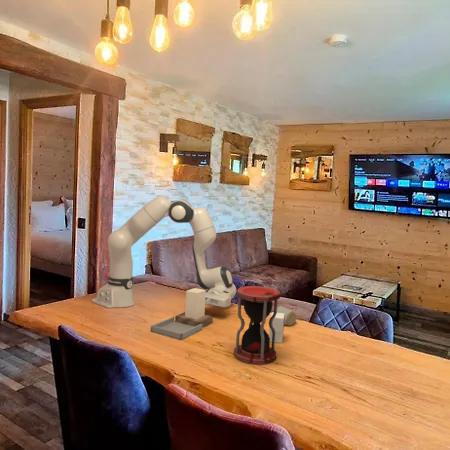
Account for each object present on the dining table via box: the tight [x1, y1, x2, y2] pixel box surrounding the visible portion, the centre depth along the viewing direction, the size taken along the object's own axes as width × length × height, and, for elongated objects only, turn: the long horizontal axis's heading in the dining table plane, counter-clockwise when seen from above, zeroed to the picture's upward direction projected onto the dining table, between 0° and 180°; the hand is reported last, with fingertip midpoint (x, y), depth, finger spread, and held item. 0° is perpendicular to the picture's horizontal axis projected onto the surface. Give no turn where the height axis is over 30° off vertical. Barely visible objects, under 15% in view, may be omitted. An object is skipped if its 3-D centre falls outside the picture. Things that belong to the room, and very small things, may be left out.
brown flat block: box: [174, 311, 214, 329], centre depth 191 cm, size 14×10×3 cm
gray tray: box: [150, 316, 203, 341], centre depth 180 cm, size 16×16×2 cm
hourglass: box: [233, 285, 281, 365], centre depth 157 cm, size 16×16×25 cm
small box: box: [268, 311, 285, 344], centre depth 175 cm, size 8×6×10 cm
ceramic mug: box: [277, 305, 297, 327], centre depth 198 cm, size 11×8×8 cm
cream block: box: [184, 287, 207, 319], centre depth 191 cm, size 6×7×12 cm
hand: (200, 302), depth 195 cm, fingers closed
